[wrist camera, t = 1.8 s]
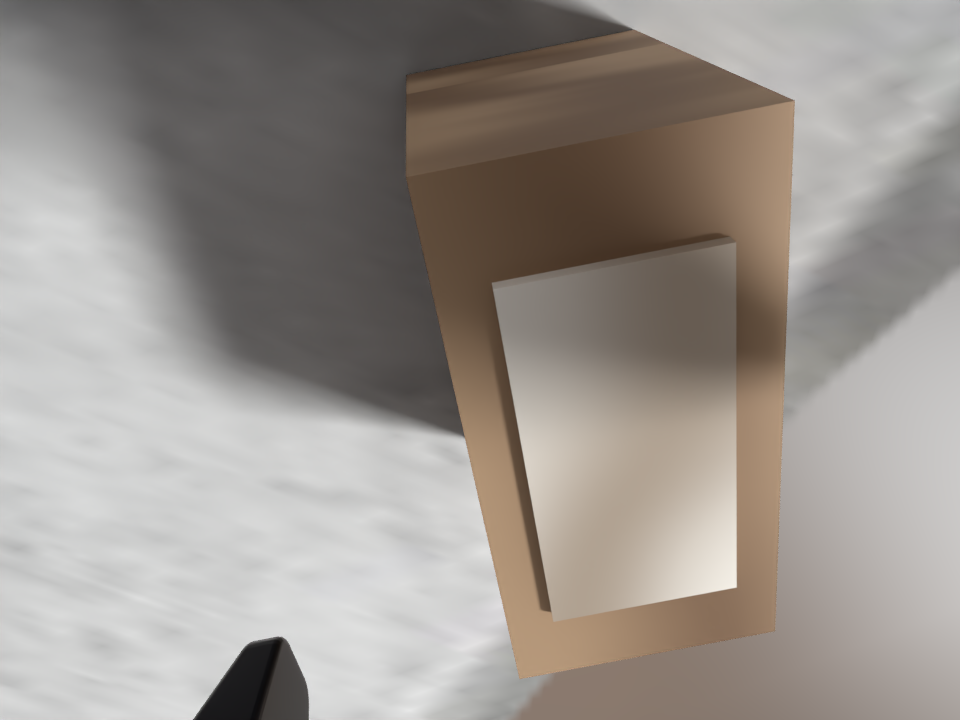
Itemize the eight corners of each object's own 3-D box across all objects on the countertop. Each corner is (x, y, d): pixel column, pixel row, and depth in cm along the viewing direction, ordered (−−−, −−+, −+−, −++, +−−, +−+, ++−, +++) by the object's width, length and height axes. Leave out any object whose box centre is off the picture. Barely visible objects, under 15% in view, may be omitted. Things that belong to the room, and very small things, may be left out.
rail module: (484, 442, 19) (521, 688, 13) (406, 75, 15) (405, 182, 8) (658, 408, 19) (780, 640, 13) (633, 29, 15) (802, 104, 8)
